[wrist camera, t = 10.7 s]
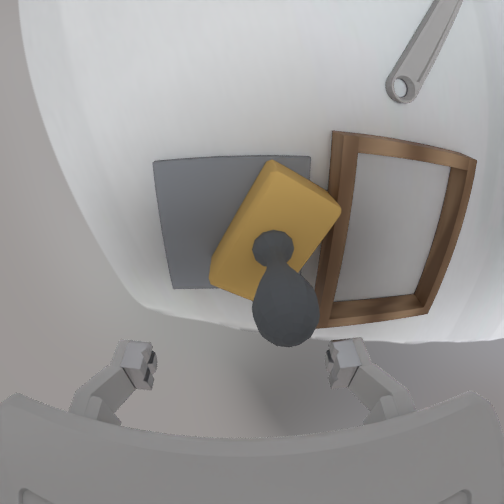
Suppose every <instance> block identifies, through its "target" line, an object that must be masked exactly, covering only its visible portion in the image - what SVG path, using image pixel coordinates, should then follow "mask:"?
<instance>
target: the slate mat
mask: <svg viewBox="0 0 504 504" xmlns="http://www.w3.org/2000/svg"><path fill="white" fill-rule="evenodd" d="M272 159H273V160H275V161H276V162H278V163H280V164H282V165H284V166H285V167H287V168H289V169H291V170H292V171H294V172H296V173H298V174H299V175H301V176H303V177H304V178H306V179H308V180H309V179H310V164H311V158H310V157H309V156H277V155H253V156H217V157H199V158H184V159H172V160H161V161H154V162H153V171H154V180H155V188H156V195H157V202H158V209H159V216H160V222H161V228H162V234H163V240H164V245H165V251H166V256H167V261H168V267H169V272H170V276H171V281H172V286H173V289H203V288H219V287H216V286H214V285H211V284H210V281H209V272H210V265H211V258H212V256H213V254H214V252H215V250H216V248H217V247H218V245H219V243H220V241H221V239H222V238H223V236H224V234H225V232H226V230H227V229H228V227H229V225H230V223H231V222H232V220H233V218H234V216H235V215H236V213H237V211H238V209H239V208H240V206H241V204H242V202H243V201H244V199H245V197H246V195H247V194H248V192H249V190H250V189H251V187H252V185H253V183H254V182H255V180H256V178H257V177H258V175H259V173H260V172H261V170H262V168H263V166H264V165H265V163H266V162H267V161H269V160H272ZM298 274H300V275H301V270H300V271H299V272H298Z"/></svg>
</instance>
